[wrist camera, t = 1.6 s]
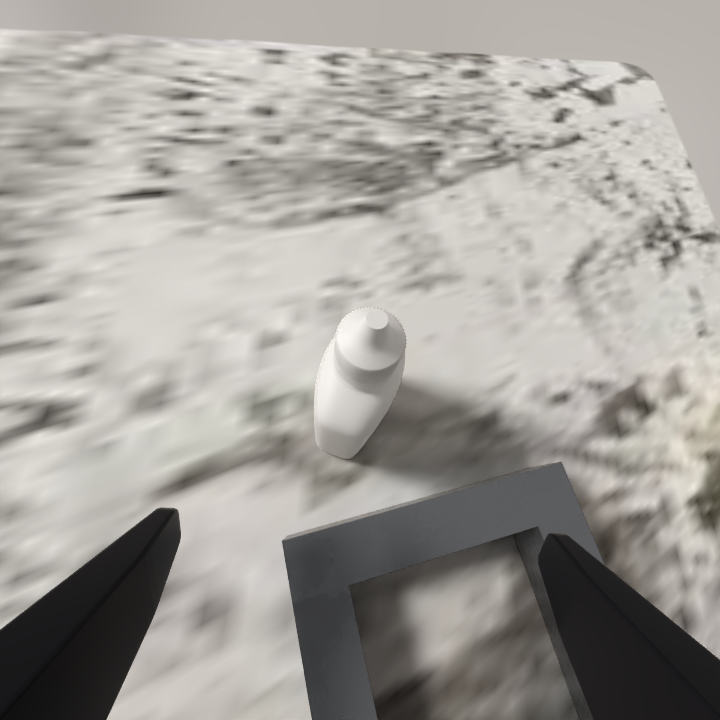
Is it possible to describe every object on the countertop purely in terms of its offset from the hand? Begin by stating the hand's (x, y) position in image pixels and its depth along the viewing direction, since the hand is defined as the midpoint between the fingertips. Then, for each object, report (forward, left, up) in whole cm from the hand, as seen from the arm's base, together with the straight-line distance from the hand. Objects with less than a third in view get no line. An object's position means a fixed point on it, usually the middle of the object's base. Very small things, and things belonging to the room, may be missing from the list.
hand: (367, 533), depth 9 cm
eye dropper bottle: (+6, -2, -12) cm, 14 cm away
